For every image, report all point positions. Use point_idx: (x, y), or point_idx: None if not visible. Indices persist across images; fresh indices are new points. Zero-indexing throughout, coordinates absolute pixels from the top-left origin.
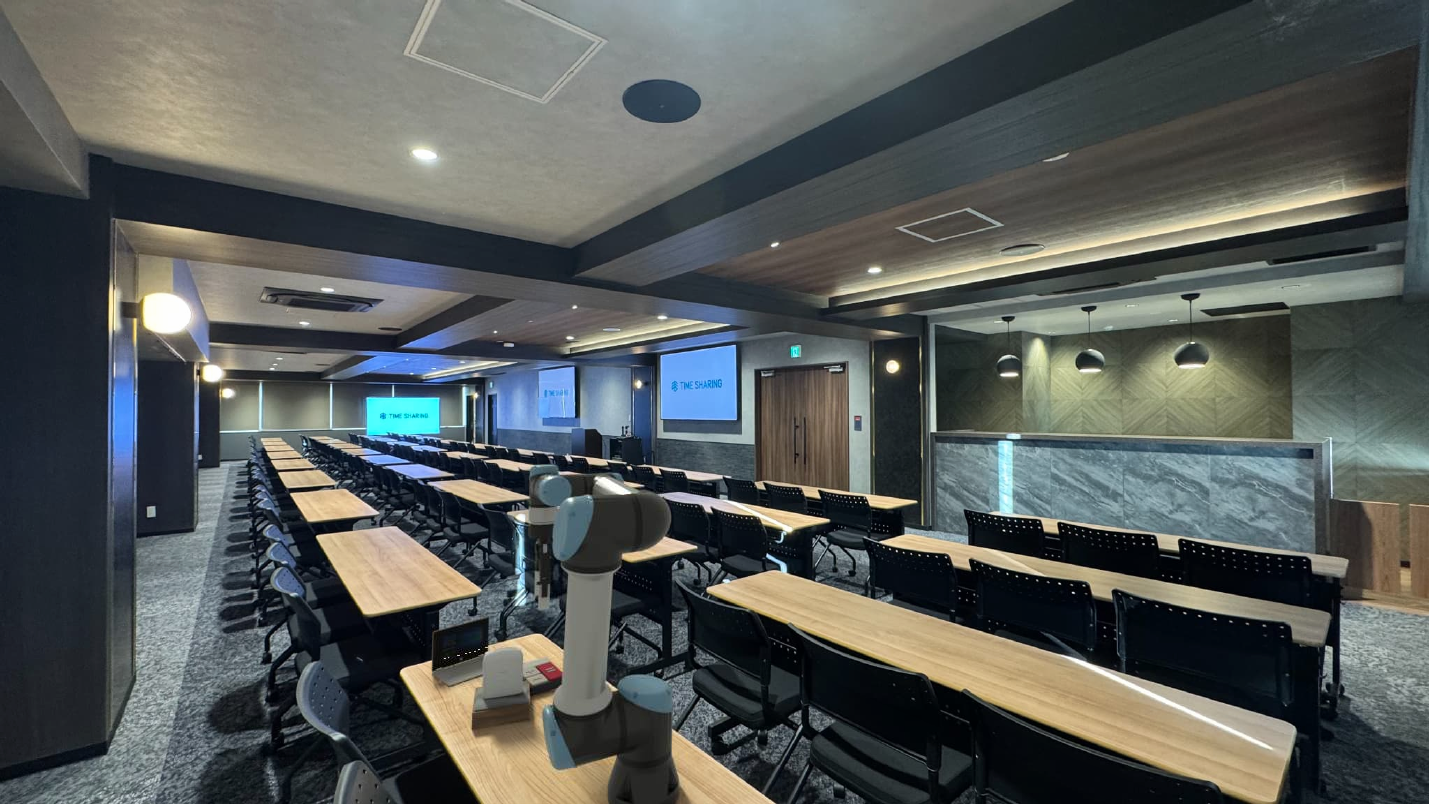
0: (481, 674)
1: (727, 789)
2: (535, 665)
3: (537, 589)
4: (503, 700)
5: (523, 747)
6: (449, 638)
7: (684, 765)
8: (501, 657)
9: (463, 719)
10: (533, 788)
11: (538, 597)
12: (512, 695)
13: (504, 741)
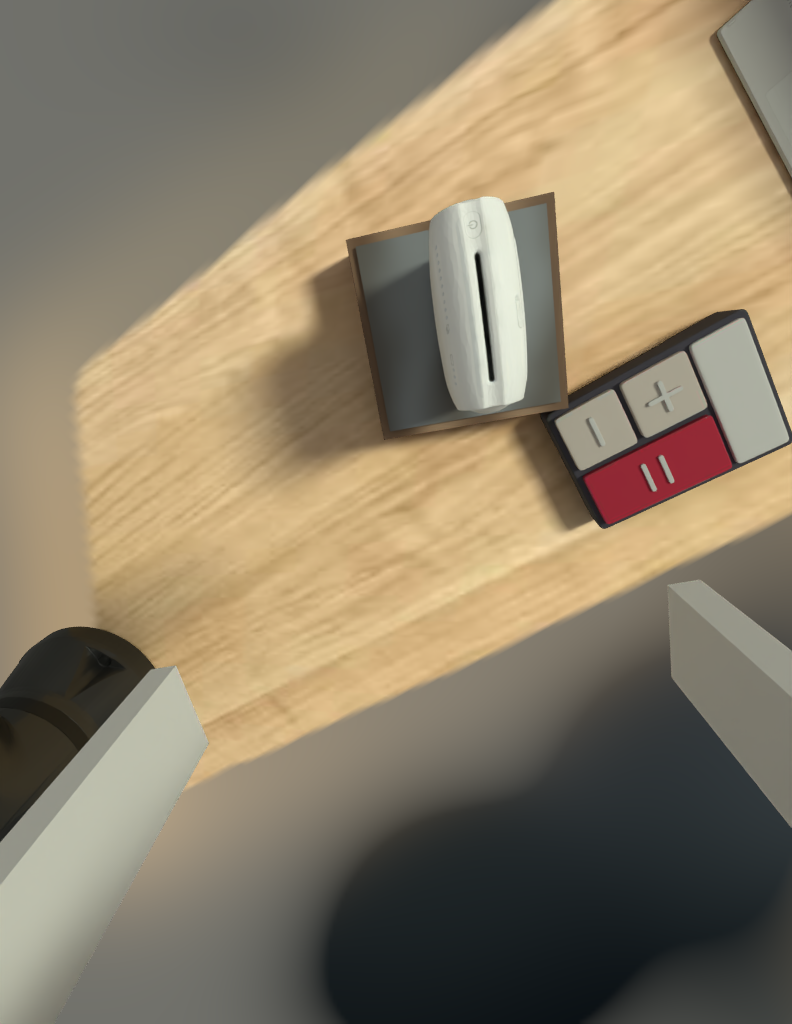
0: (787, 164)
1: None
2: (719, 410)
3: (708, 649)
4: (416, 341)
5: (252, 435)
6: None
7: None
8: (439, 311)
9: (422, 200)
10: (96, 483)
11: (98, 758)
12: None
13: (282, 376)
